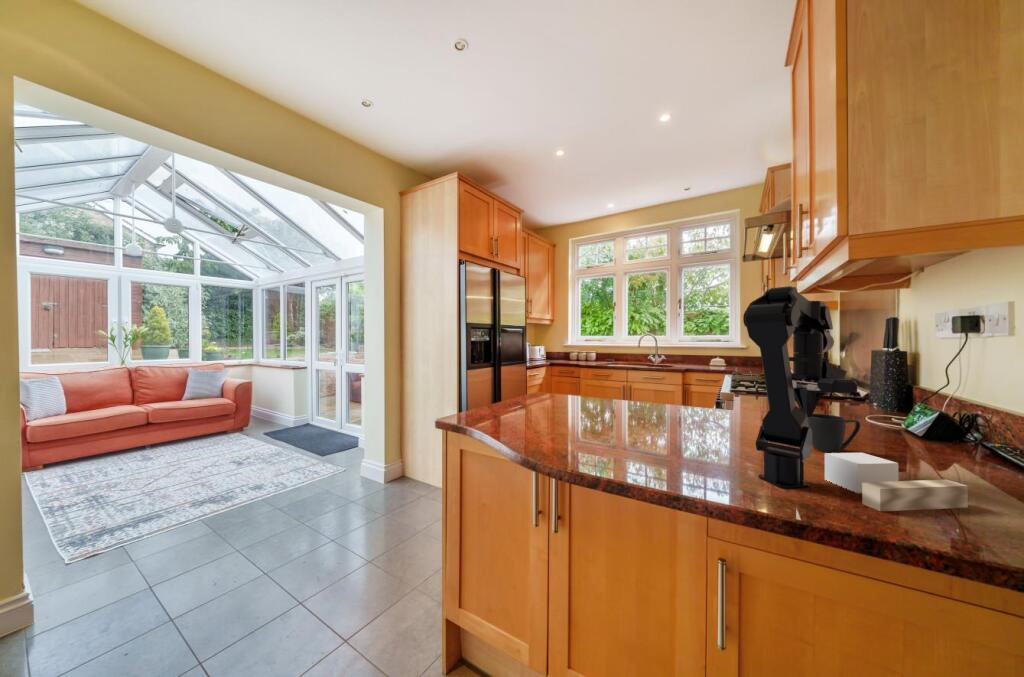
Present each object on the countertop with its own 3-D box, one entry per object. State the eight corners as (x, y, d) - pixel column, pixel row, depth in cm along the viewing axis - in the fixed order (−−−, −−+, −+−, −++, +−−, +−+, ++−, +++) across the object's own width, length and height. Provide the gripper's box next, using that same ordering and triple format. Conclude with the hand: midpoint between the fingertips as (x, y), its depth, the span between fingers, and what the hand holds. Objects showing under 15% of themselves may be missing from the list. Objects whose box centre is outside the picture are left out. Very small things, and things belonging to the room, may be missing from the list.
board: (880, 511, 64) (880, 488, 64) (862, 503, 67) (862, 482, 67) (967, 507, 66) (967, 485, 66) (946, 500, 69) (946, 479, 69)
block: (857, 493, 72) (857, 463, 72) (824, 480, 79) (824, 453, 79) (898, 492, 73) (898, 463, 73) (862, 479, 80) (862, 452, 80)
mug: (870, 457, 95) (870, 421, 95) (816, 453, 98) (816, 418, 99) (850, 448, 103) (850, 415, 103) (801, 445, 106) (801, 412, 107)
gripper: (879, 354, 80) (879, 425, 80) (803, 352, 98) (803, 409, 98) (834, 354, 79) (834, 426, 79) (765, 352, 97) (765, 410, 97)
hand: (807, 416), depth 88 cm, fingers closed
